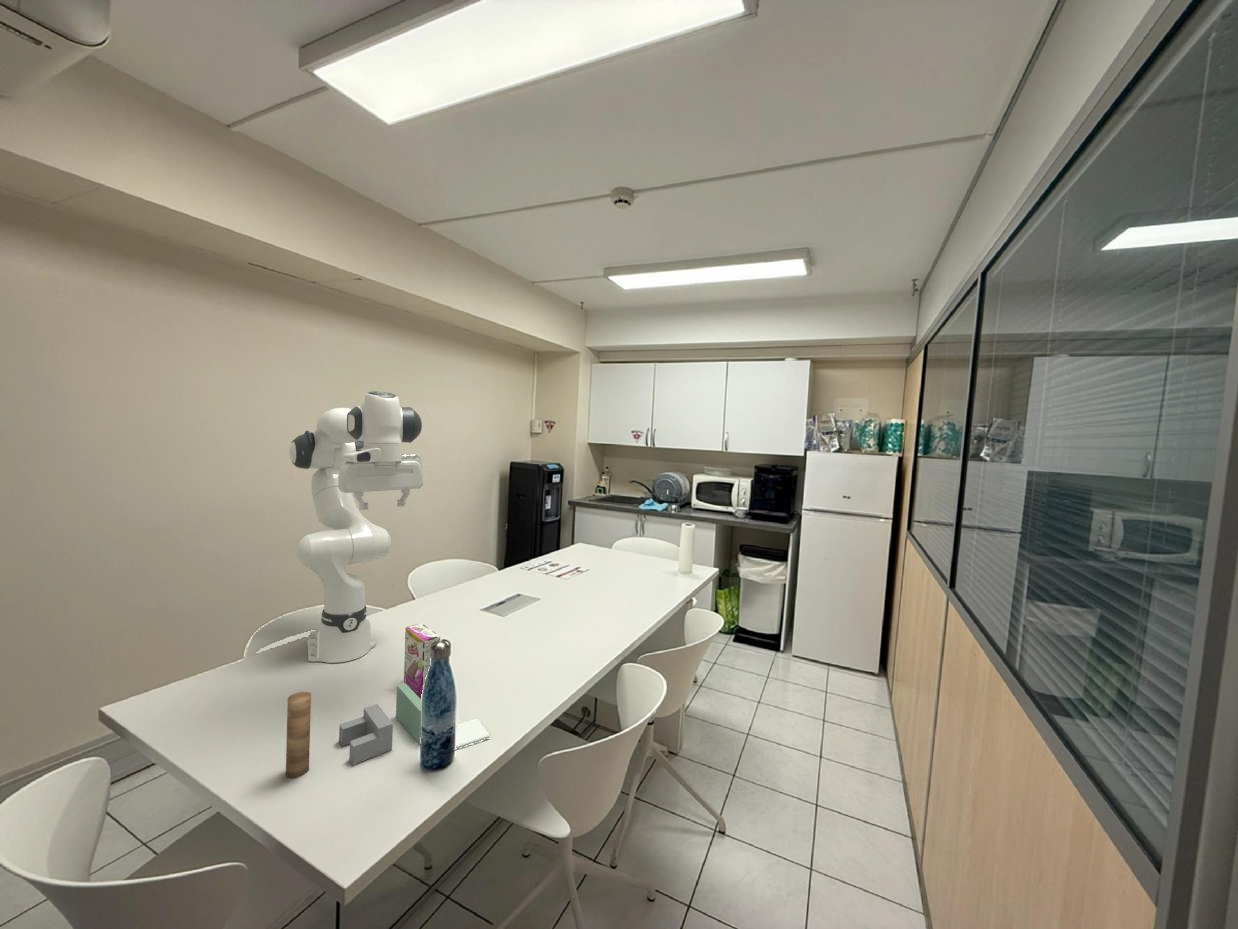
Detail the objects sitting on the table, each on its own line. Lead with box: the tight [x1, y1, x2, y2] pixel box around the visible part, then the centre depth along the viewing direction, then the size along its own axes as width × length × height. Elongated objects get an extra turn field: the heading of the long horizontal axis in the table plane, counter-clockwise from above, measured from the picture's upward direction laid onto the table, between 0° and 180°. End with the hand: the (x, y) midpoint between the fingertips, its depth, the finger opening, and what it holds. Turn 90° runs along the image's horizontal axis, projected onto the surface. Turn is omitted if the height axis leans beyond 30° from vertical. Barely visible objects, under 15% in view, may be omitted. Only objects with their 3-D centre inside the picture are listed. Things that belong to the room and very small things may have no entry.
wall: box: [395, 682, 423, 746], centre depth 116 cm, size 14×2×8 cm, turn 45°
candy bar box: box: [403, 622, 441, 699], centre depth 134 cm, size 11×5×16 cm, turn 48°
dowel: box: [285, 691, 312, 779], centre depth 100 cm, size 4×4×16 cm
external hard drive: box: [456, 717, 490, 750], centre depth 114 cm, size 2×8×12 cm
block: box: [338, 703, 394, 765], centre depth 109 cm, size 10×8×6 cm
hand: (383, 508), depth 126 cm, fingers open, 8 cm apart
